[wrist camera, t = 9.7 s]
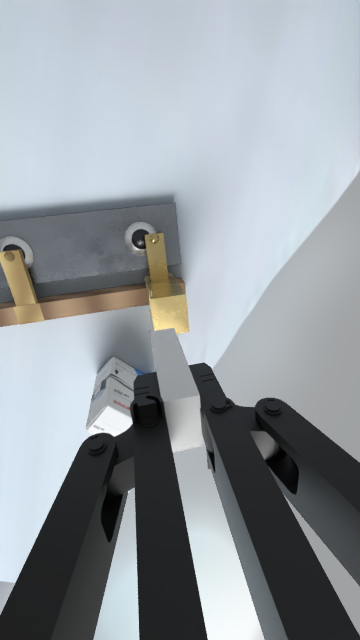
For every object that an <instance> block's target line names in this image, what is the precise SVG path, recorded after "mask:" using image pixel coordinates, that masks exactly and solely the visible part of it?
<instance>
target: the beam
mask: <svg viewBox="0 0 360 640" xmlns="http://www.w3.org/2000/svg"><path fill="white" fill-rule="evenodd" d="M0 262H1V265H2V267H3V270H4V273H5V276H6V278H7V281H8V284H9V287H10V290H11V292H12V295H13V298H14V301H13V302H6V303H0V327H3V326H10V325H16V324H26V323H33V322H39V321H45V320H50V319H56V318H63V317H70V316H76V315H83V314H89V313H96V312H103V311H109V310H116V309H123V308H129V307H136V306H143V305H149V303H148V296H147V290H146V284H145V283H141V284H134V285H127V286H120V287H113V288H105V289H98V290H91V291H84V292H77V293H70V294H63V295H56V296H48V297H41V298H37V297H36V294H35V291H34V288H33V284H32V281H31V278H30V275H29V272H28V269H27V266H26V263H25V260H24V257H23V253H22V250H21V249H19V250H10V251H2V252H0ZM176 280H177V282H178V283H179V285H180V286H181V288H182V289H183V291H184V292H185V283H184V281H183V280H182V278H177V279H176ZM185 294H186V292H185Z"/></svg>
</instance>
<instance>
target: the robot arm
mask: <svg viewBox="0 0 360 640" xmlns="http://www.w3.org/2000/svg"><path fill="white" fill-rule="evenodd" d="M150 338H151V344H152V350H153V357H154V363H155V369H156V372H154V373H148V374H143V375H137V377H136V379H135V380H134V382H133V385H134V400H133V401H132V403H131V404H130V408H129V409H130V413H131V418H132V422H133V424H132V425H131V426H130V427H129V428H128V429H127V430H126V431H124V432H123V433H121V434H119V435H117V436H115V437H114V436H112V435H111V434H109V433H104V432H103V433H97V434H94V435H92V436H90V437H89V438H87V439H86V440H85V441H84V442H83V443H82V445H81V446H80V448H79V450H78V452H77V454H76V456H75V459H74V461H73V463H72V465H71V467H70V469H69V471H68V473H67V475H66V478H65V480H64V482H63V484H62V486H61V488H60V490H59V492H58V494H57V497H56V499H55V501H54V503H53V505H52V507H51V509H50V511H49V513H48V516H47V518H46V520H45V522H44V524H43V526H42V528H41V530H40V532H39V535H38V537H37V539H36V541H35V543H34V545H33V547H32V549H31V552H30V554H29V556H28V558H27V560H26V562H25V564H24V566H23V568H22V571H21V573H20V575H19V577H18V579H17V581H16V583H15V586H14V587H13V590H12V592H11V594H10V596H9V598H8V600H7V602H6V604H5V607H4V609H3V611H2V613H1V615H0V640H93V638H94V634H95V629H96V626H97V621H98V617H99V613H100V609H101V604H102V600H103V596H104V592H105V587H106V583H107V579H108V575H109V570H110V566H111V562H112V558H113V554H114V549H115V545H116V541H117V537H118V533H119V529H120V524H121V520H122V516H123V512H124V507H125V503H126V499H127V495H128V491H129V490H131V489H132V488H134V487H135V503H136V504H135V507H136V538H137V573H138V605H139V637H140V640H208V639H207V633H206V628H205V623H204V617H203V612H202V607H201V602H200V596H199V591H198V585H197V580H196V575H195V570H194V564H193V559H192V553H191V548H190V543H189V537H188V532H187V527H186V521H185V516H184V511H183V505H182V500H181V495H180V489H179V484H178V479H177V473H176V468H175V463H174V458H173V452H177V451H182V450H186V449H191V448H195V447H199V446H204V441H205V445H206V449H207V462H208V469H211V470H212V474H213V477H214V480H215V483H216V486H217V489H218V492H219V496H220V499H221V502H222V505H223V508H224V512H225V515H226V518H227V521H228V524H229V528H230V531H231V534H232V537H233V540H234V543H235V547H236V550H237V553H238V556H239V559H240V562H241V566H242V569H243V572H244V575H245V578H246V581H247V585H248V588H249V591H250V594H251V597H252V601H253V604H254V607H255V610H256V613H257V616H258V620H259V623H260V626H261V629H262V632H263V635H264V639H265V640H360V636H359V634H358V632H357V631H356V629H355V627H354V625H353V624H352V622H351V620H350V618H349V616H348V614H347V612H346V610H345V609H344V607H343V605H342V603H341V601H340V599H339V597H338V595H337V594H336V592H335V590H334V588H333V586H332V585H331V582H330V581H329V579H328V577H327V575H326V573H325V571H324V570H323V568H322V566H321V564H320V562H319V560H318V558H317V557H316V555H315V553H314V551H313V549H312V547H311V545H310V544H309V542H308V540H307V538H306V536H305V534H304V532H303V530H302V529H301V527H300V525H299V523H298V521H297V519H296V517H295V515H294V514H293V512H292V510H291V508H290V506H289V504H288V502H287V501H286V499H285V497H284V495H285V496H286V498H287V499H288V500H289V501H290V502H291V504H292V505H293V506H294V507H295V508H296V510H297V511H298V512H299V513H300V514H301V516H302V517H303V518H304V519H305V521H306V522H307V523H308V524H309V525H310V527H311V528H312V529H313V530H314V531H315V533H316V534H317V535H318V536H319V537H320V539H321V540H322V541H323V542H324V544H325V545H326V546H327V547H328V548H329V550H330V551H331V552H332V553H333V554H334V556H335V557H336V558H337V559H338V560H339V562H340V563H341V564H342V565H343V566H344V568H345V569H346V570H347V571H348V573H349V574H350V575H351V576H352V577H353V579H354V580H355V581H356V582H357V583H358V585H359V586H360V463H359V462H358V461H357V460H356V459H354V458H353V457H352V456H351V455H349V454H348V453H347V452H346V451H344V450H343V449H342V448H341V447H340V446H338V445H337V444H336V443H335V442H333V441H332V440H330V438H328V437H327V436H326V435H325V434H323V433H322V432H321V431H320V430H319V429H317V428H316V427H315V426H313V425H312V424H311V423H310V422H309V421H307V420H306V419H305V418H304V417H302V416H301V415H300V414H299V413H297V412H296V411H295V410H294V409H293V408H291V407H290V406H289V405H287V404H286V403H285V402H283V401H282V400H279V399H276V398H264V399H261V400H259V401H258V402H257V404H256V406H255V407H242V406H238V405H235V404H234V403H233V402H232V401H231V400H230V399H228V398H227V397H226V396H225V394H224V392H223V390H222V388H221V386H220V384H219V382H218V381H217V379H216V377H215V375H214V373H213V371H212V369H211V367H210V366H208V365H207V364H205V363H199V364H194V365H188V363H187V360H186V358H185V355H184V353H183V350H182V347H181V345H180V342H179V340H178V337H177V334H176V332H175V329H174V328H168V329H162V330H156V331H150ZM283 494H284V495H283Z"/></svg>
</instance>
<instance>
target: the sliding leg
mask: <svg viewBox="0 0 360 640" xmlns="http://www.w3.org/2000/svg"><path fill="white" fill-rule="evenodd" d="M144 237H145V244H146V251H147V258H148V265H149V272H150V275H149V276H144V279H145V284H146V290H147V296H148V303H149V310H150V315H151V320H152V325H153V330H154V331H156V330H162V329H168V328H174V329H175V332H176V334H179V333H185V332H189V323H188V312H187V301H186V294H185V292H184V291H183V289H182V288H181V286H180V285H179V283H178V282H177V280H176V278H175V277H174V275H173V274H172V272H171V273H168V270H167V261H166V252H165V244H164V235H163V232H162V233H153V234H145V235H144Z"/></svg>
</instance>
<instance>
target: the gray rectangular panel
mask: <svg viewBox="0 0 360 640" xmlns="http://www.w3.org/2000/svg"><path fill="white" fill-rule="evenodd" d="M162 232H163V235H164V244H165V252H166V261H167V266H170V265H178V264H181V258H180V248H179V237H178V227H177V216H176V206H175V203H167V204H157V205H148V206H138V207H129V208H119V209H110V210H101V211H91V212H82V213H72V214H63V215H53V216H44V217H34V218H25V219H16V220H6V221H0V252H2V251H10V250H19V249H21V250H22V253H23V257H24V260H25V263H26V266H27V269H28V272H29V275H30V278H31V281H32V284H36V283H44V282H51V281H59V280H66V279H73V278H81V277H88V276H96V275H103V274H111V273H118V272H126V271H133V270H140V269H148V268H149V265H148V258H147V251H146V244H145V237H144V235H145V234H153V233H162ZM6 287H9V284H8V281H7V278H6V276H5V273H4V270H3V267H2V265H1V262H0V288H6Z"/></svg>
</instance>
